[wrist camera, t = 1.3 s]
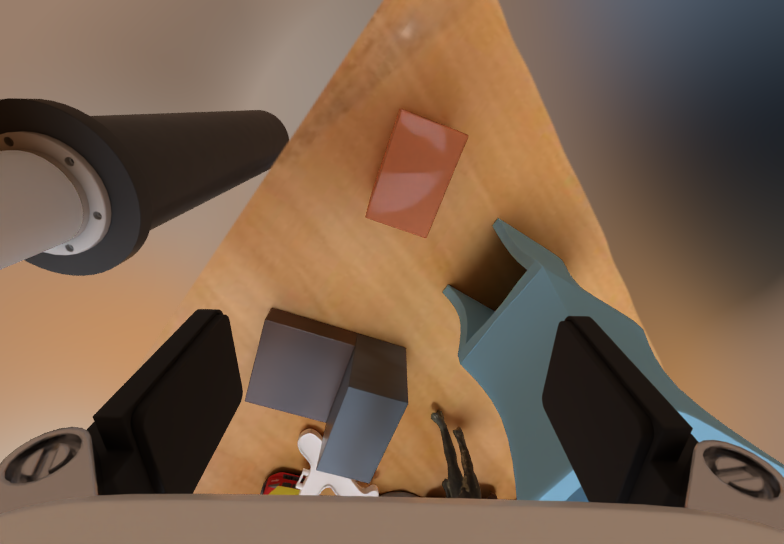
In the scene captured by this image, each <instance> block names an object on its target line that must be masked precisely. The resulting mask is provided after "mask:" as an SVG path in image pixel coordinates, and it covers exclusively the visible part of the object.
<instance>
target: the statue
mask: <svg viewBox="0 0 784 544" xmlns="http://www.w3.org/2000/svg"><path fill="white" fill-rule="evenodd" d="M431 419H432V420H433V421H434V422H435V423H437V424H438V426H439V428H440V431H441V435H442V440H443V447H444V453H445V457H446V460H447V464H448V479H445V480H444V481H443V483H442V486H443V488H444V490H445V491H446V498H465V499H482V498H481V490H480V486H479V483H478V480H477V477H476V475H475V473H474V471H473V464H472V461H471V458H470V455H469V451H468V449H467V447H466V443H465V439H464V435H463V432H462V430H461V428H460V427H458V428H457V429H456V430H453V433H454V435H455V437H456V439H457V441H458V444H459V448H460V452H461V462H462V467H463V470H464V477H463V476H462V474H461V471H460V469H459V467H458V463H457V456H456V452H455V448H454V446H453V443H452V440H451V437H450V434H449V432H448V429H447V425H446V423H445V422H444V416H443V413H442V411H440V410H439V411H437V412H436V413H432V414H431Z"/></svg>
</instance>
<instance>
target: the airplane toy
mask: <svg viewBox="0 0 784 544" xmlns="http://www.w3.org/2000/svg"><path fill="white" fill-rule="evenodd" d="M322 440H323V437H322V436H321V435H320V434H319V433H318V432H317V431H316V430H314V429H306V430H304V431H303V432H302V433H301V434H300V435H299V439H298V448H299V451H300V452H301V453H302V455H303V456H304V457H305V458H306V459H307V461H308V462H309V463H310V465H311V468H310V470H308V469H305V468H304V469H303V471H302V474H301V476H300V478H299V481H298V482H297V484H296V488H298V489H300V492H299V495H319V494H320V493H321V491H322V490H323V489H325V488H331V489H332V490H333V491H334V492H335V494H336V495H337V496H374V497H378V495H379V493H378V488H377V486H376V485H370V486H368V487H366V488H362V487H361V486H359V485H358V483H357V482H356V481H355V480H353V479H349V478H345V477H341V476H337V475H333V474H329V473H325V472H321V471H317V470H316V467H317V463H318V458H319V454H320V449H321V445H322ZM303 475H306V478H305V480H304V482H303V483H300V482H301V479H302V477H303Z"/></svg>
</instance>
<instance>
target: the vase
mask: <svg viewBox="0 0 784 544" xmlns="http://www.w3.org/2000/svg"><path fill="white" fill-rule="evenodd" d="M492 226H493V228H494V230H495V231H496V233H497V235H498V236H499V238H500V239H501V241H502V243H503V244H504V246H505V247H506V248H507V250H508V251H509V253H510V254H511V255H512V256H513V257H514V259H515V260H516V261H517V262H518V263H520V264H521V265H522V266H523V267H524V268H526V269H527V271H526V272H525V274H524V275H523V276H522V277H521V278H520V280H519V281H518V282H517V284H516V285H515V286H514V288H513V289H512V290H511V292H510V293H509V295H508V296H507V297H506V299H505V300H504V301H503V303H502V304H501V305H500V306H499V307H498V309H497V310H496V311H493V310H491V309H490V308H488V307H486V306H485V305H483V304H481V303H479V302H478V301H476V300H474V299H472V298H471V297H469V296H467V295H465V294H464V293H462V292H460V291H458V290H457V289H455V288H453V287H451V286H450V285H447V287H446V288H445V289H444V291H443V294H444V295H445V296H446V297H447V298H448V299H449V300H450V302H451V303H452V304H453V306H454V307H455V309H456V311H457V313H458V315H459V318H460V324H461V335H460V344H459V351H458V357H459V361H460V364H461V365H462V366H463V367H464V368H465V369H466V370H467V371H468V372H469V373H470V374H471V376H472V377H473V378H474V379H475V380H476V381H477V382H478V383H479V384H480V386H481V387H482V388H483V389H484V391H485V392H486V393H487V395H488V396H489V398H490V399H491V400H492V402H493V404H494V406H495V407H496V409H497V411H498V413H499V415H500V417H501V419H502V422H503V425H504V428H505V431H506V434H507V437H508V441H509V446H510V451H511V456H512V461H513V468H514V476H515V484H516V495H517V500H540V501H575V502H589V501H588V499H587V497H586V495H585V493H584V491H583V489H582V487H581V485H580V482H579V480H578V478H577V476H576V474H575V472H574V470H573V468H572V466H571V464H570V462H569V460H568V458H567V456H566V453H565V451H564V449H563V447H562V445H561V443H560V441H559V439H558V437H557V435H556V433H555V431H554V429H553V427H552V425H551V422H550V420H549V418H548V416H547V414H546V412H545V410H544V408H543V404H542V393H543V389H544V385H545V380H546V376H547V371H548V367H549V363H550V358H551V354H552V350H553V345H554V341H555V336H556V332H557V328H558V324H559V322H560V321H564V320H565V318H566V317H568V316H589V317H591V318H592V319H593V320H594V321H595V322H596V323H597V324H598V325H599V326H600V327H601V328H602V330H603V331H604V332H605V333H606V334H607V335H608V336H609V337H610V338H611V339H612V340H613V342H614V343H615V344H616V345H617V346H618V347H619V348H620V349H621V350H622V351H623V353H624V354H625V355H626V356H627V357H628V358H629V359H630V360H631V361H632V362H633V363H634V365H635V366H636V367H637V368H638V369H639V370H640V371H641V372H642V373H643V374H644V375H645V377H646V378H647V379H648V380H649V381H650V382H651V383H652V384H653V385H654V386H655V387H656V389H657V390H658V391H659V392H660V393H661V394H662V395H663V396H664V397H665V398H666V400H667V401H668V402H669V403H670V404H671V405H672V406H673V407H674V408H675V409H676V410H677V412H678V413H679V414H680V415H681V416H682V417H683V418H684V419H685V420H686V421H687V422H688V424H689V425H690V426H691V427H692V428H693V430H692V432H691V434H692V435H693V436H694V437H695V438H696V440H697V441H698V442H701V441H703V440H718V441H724V442H728V443H731V444H734V445H736V446H739V447H742V448H744V449H746V450H748V451H750V452H752V453H754V454H756V455H757V456H759V457H760V458H762V459H763V460H765V461H766V462H768V463H769V464H770V465H771V466H773V467H774V468H775V469H776V470H777V471H778V472H779V473H780V474H781V475H782V476H783V477H784V465H783V464H782V463H780V462H779V461H777V460H776V459H774V458H772V457H771V456H769V455H768V454H766V453H765V452H763V451H762V450H760V449H759V448H757V447H756V446H754V445H753V444H751V443H750V442H748V441H747V440H746V439H744V438H743V437H741V436H740V435H738V434H737V433H735V432H734V431H732V430H731V429H729V428H728V427H727V426H725V425H724V424H722V423H721V422H720V421H719V420H717V419H716V418H715V417H713V416H712V415H710V414H709V413H708V412H706V411H705V410H704V409H703V408H701V407H700V406H699V405H698V404H696V403H695V402H694V401H693V400H692V399H691V398H689V397H688V396H687V395H686V394H685V393H684V392H683V391H681V390H680V389H679V388H678V387H677V386H676V385H675V384H674V382H673V381H672V380H671V379H670V378H669V377H668V375H667V374H666V373H665V372H664V371H663V369H662V367H661V366H660V364H659V363H658V361H657V360H656V358H655V356H654V354H653V352H652V350H651V348H650V346H649V344H648V341H647V338H646V336H645V333H644V330H643V329H642V328H641V327H640V326H639V325H638V324H637V323H635V322H634V321H633V320H632V319H630V318H629V317H627V316H625V315H624V314H622V313H621V312H619V311H617V310H616V309H614V308H613V307H611V306H609V305H608V304H606V303H604V302H603V301H601V300H599V299H598V298H596V297H594V296H593V295H591V294H590V293H588V292H586V291H585V290H584V289H582V288H581V287H580V286H579V285H578V284H577V283H576V282H575V280H574V279H573V278H572V276H571V275H570V273H569V272H568V270H567V268H566V266H565V264H564V262H563V261H562V260H561V259H560V258H559V257H558V256H556V255H555V254H554V253H552V252H551V251H549V250H547V249H546V248H544V247H543V246H541V245H540V244H538V243H537V242H535V241H533V240H532V239H530V238H529V237H527V236H526V235H524V234H523V233H521V232H519V231H518V230H516V229H515V228H513V227H512V226H510V225H509V224H507V223H505V222H504V221H502V220H501V219H499V218H498V219H497V220H496V221H495V223H494V224H493V225H492Z"/></svg>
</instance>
